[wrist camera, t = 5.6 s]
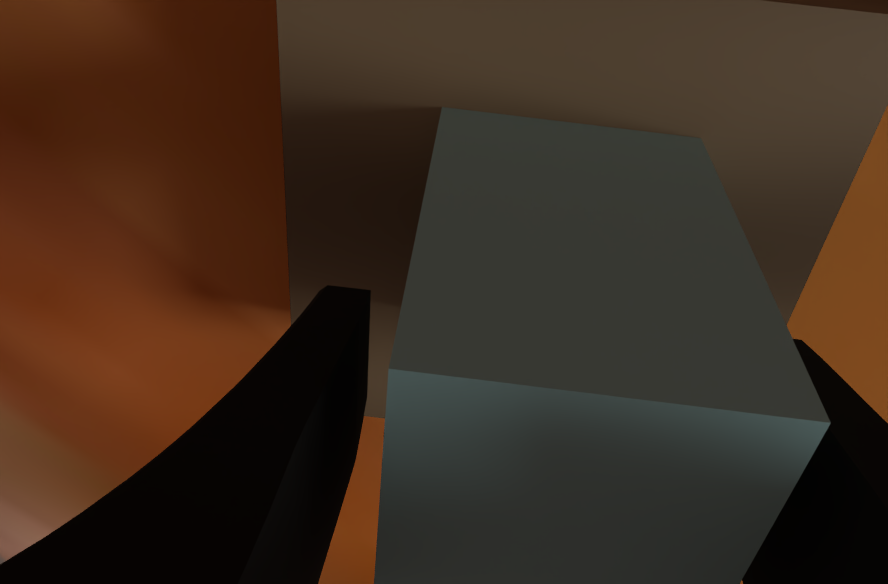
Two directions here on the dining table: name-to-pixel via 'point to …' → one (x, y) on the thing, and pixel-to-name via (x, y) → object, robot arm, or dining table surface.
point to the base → (566, 116)
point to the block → (584, 367)
